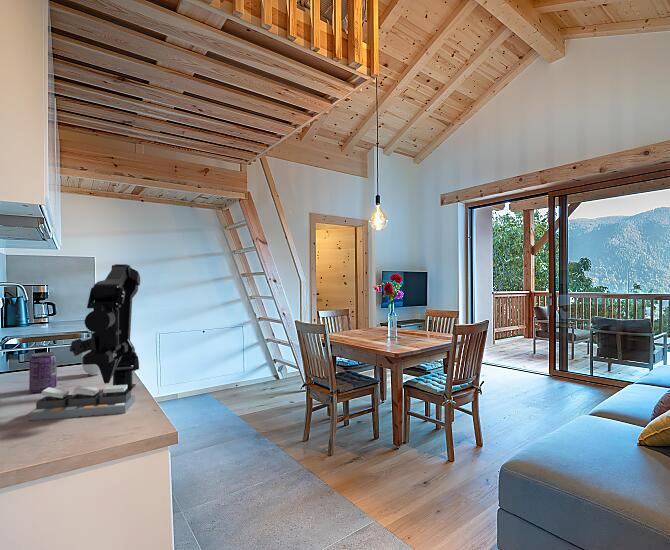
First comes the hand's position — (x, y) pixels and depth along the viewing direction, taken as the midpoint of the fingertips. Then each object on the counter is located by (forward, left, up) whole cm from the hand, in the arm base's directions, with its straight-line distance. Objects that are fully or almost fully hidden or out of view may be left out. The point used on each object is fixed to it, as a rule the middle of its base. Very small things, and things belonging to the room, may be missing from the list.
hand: (106, 383), depth 107 cm
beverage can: (-25, -26, -8) cm, 37 cm away
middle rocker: (0, -5, -2) cm, 6 cm away
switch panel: (0, -5, -7) cm, 9 cm away
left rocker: (0, -13, -2) cm, 13 cm away
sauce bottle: (-43, -17, -8) cm, 47 cm away
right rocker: (0, +2, -2) cm, 3 cm away
